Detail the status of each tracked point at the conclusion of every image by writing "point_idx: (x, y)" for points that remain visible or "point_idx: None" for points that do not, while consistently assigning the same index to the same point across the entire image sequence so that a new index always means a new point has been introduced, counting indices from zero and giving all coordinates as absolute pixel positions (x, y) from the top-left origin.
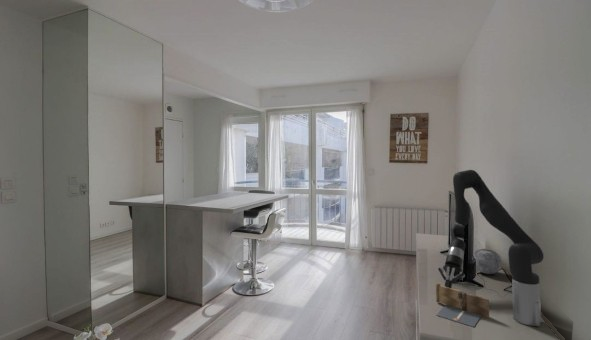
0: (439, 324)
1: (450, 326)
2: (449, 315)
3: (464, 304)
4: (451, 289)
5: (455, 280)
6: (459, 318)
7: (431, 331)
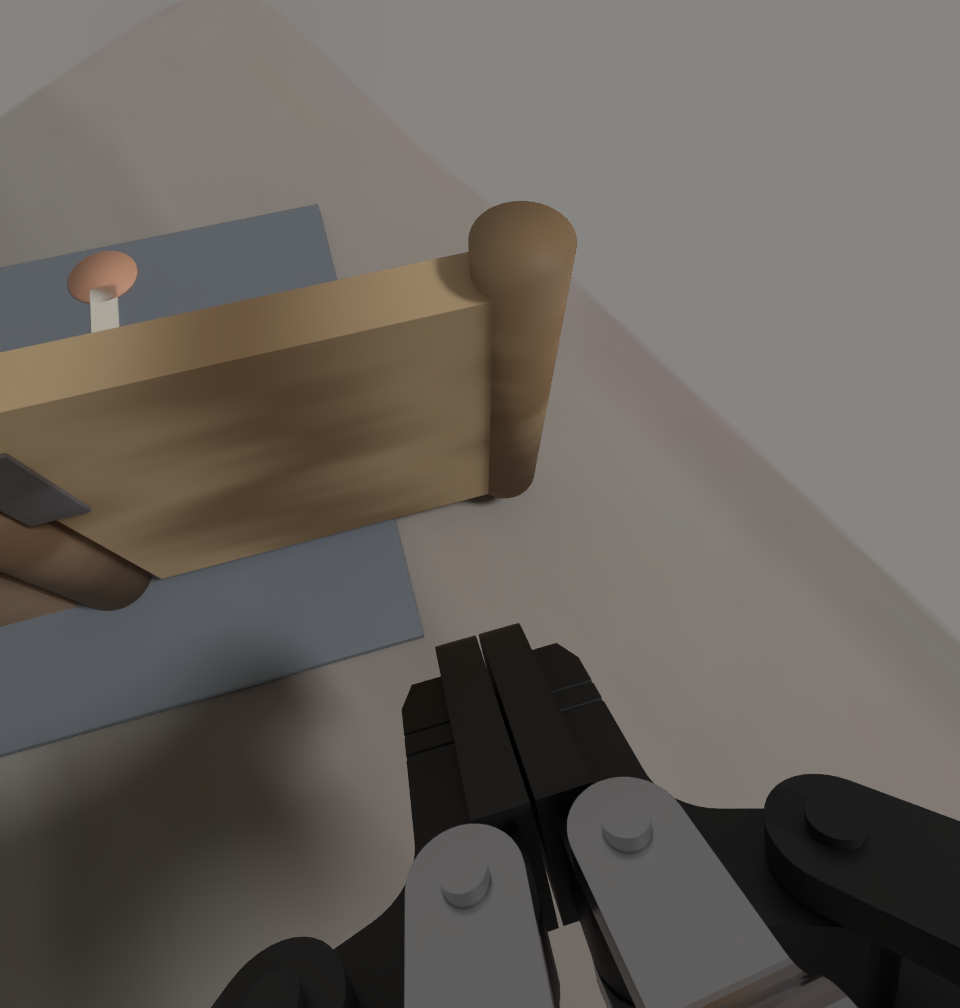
0: (208, 118)
1: (113, 157)
2: (205, 292)
3: None
4: (155, 328)
5: (251, 982)
6: (87, 318)
7: (204, 14)
